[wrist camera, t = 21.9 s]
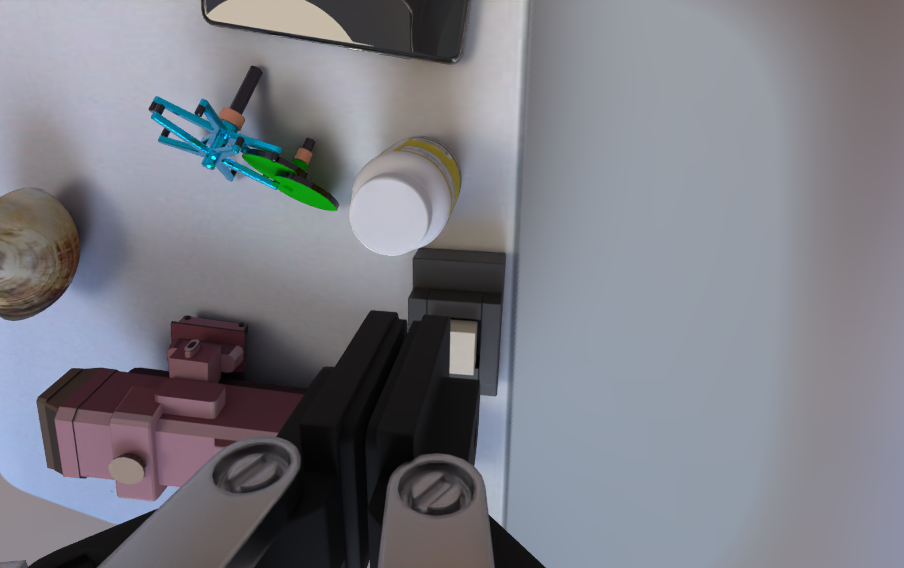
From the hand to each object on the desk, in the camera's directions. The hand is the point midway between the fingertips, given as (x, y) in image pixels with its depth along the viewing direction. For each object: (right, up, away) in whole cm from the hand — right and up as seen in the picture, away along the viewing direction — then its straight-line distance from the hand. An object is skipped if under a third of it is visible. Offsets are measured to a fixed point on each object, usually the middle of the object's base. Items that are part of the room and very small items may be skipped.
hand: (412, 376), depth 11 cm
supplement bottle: (-1, +9, +24) cm, 26 cm away
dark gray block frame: (+1, 0, +27) cm, 27 cm away
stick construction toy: (-11, +12, +24) cm, 29 cm away
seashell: (-28, +5, +29) cm, 41 cm away
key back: (+1, -2, +24) cm, 24 cm away
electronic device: (-12, -6, +31) cm, 34 cm away
